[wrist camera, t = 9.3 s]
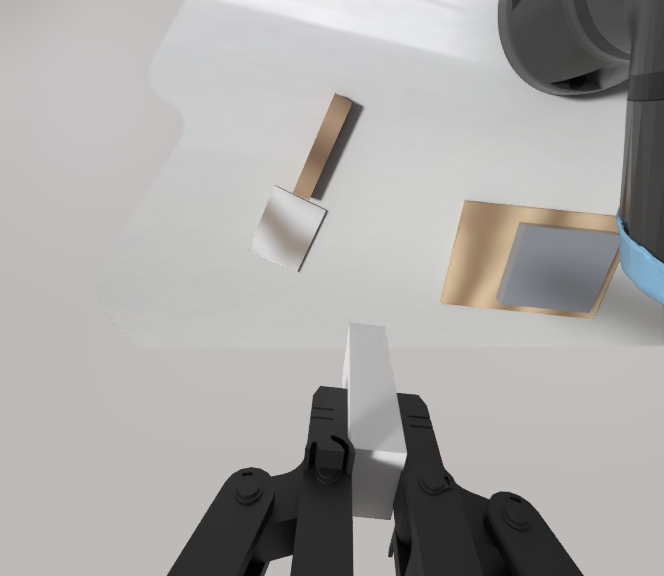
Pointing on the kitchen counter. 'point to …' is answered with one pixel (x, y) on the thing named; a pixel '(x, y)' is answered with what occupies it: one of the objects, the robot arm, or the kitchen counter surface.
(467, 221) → the board
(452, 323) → the kitchen counter surface
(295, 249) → the turner
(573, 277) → the tile
